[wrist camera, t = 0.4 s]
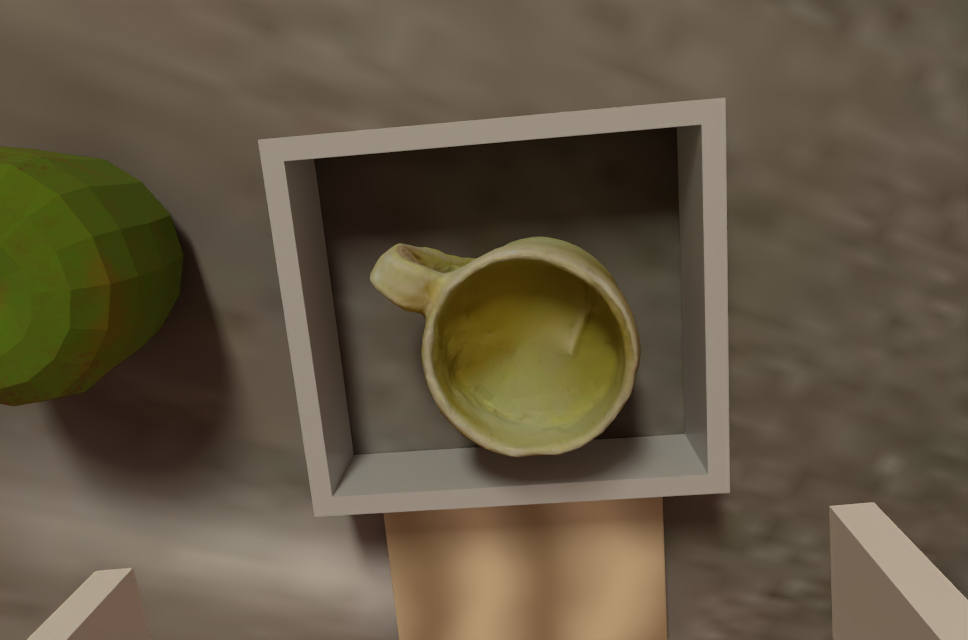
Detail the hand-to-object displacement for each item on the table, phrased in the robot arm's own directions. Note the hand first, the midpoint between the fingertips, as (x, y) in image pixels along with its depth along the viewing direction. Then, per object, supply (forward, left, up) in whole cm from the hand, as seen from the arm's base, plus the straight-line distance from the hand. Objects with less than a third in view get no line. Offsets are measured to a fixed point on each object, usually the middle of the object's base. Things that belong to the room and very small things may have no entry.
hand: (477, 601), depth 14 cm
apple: (-21, +4, -26) cm, 33 cm away
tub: (0, 0, -26) cm, 26 cm away
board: (0, -18, -26) cm, 31 cm away
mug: (0, 0, -26) cm, 26 cm away
